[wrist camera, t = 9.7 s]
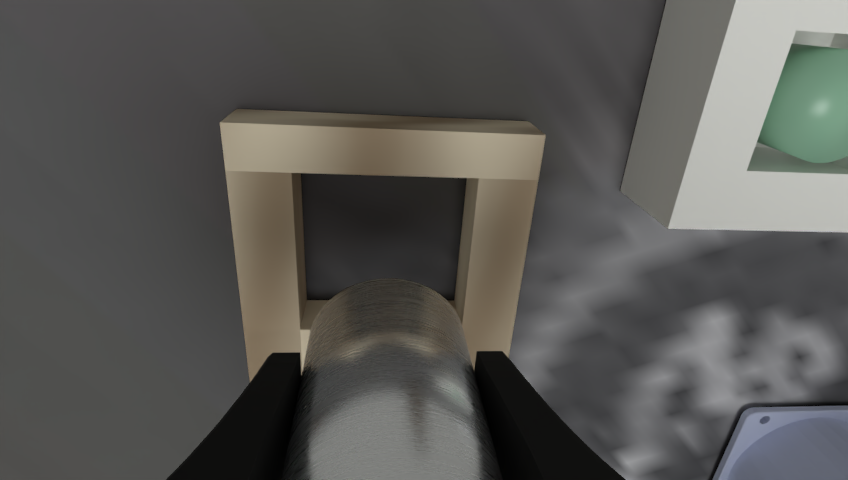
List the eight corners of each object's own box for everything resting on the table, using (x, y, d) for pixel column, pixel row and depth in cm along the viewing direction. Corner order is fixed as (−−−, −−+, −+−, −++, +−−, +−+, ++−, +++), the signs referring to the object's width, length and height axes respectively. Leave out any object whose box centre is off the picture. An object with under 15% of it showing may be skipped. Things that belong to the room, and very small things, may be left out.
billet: (471, 279, 12) (545, 498, 7) (456, 402, 14) (507, 655, 9) (305, 277, 12) (247, 510, 6) (311, 405, 14) (270, 672, 8)
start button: (828, 45, 17) (916, 54, 14) (792, 139, 18) (865, 164, 15) (739, 39, 16) (811, 48, 14) (709, 136, 18) (769, 161, 15)
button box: (905, -30, 17) (1029, -37, 13) (810, 196, 20) (891, 233, 17) (678, -49, 16) (753, -60, 13) (620, 191, 19) (667, 228, 16)
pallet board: (528, 121, 18) (545, 135, 16) (469, 514, 27) (476, 551, 25) (236, 108, 17) (219, 122, 15) (278, 522, 26) (270, 561, 24)
